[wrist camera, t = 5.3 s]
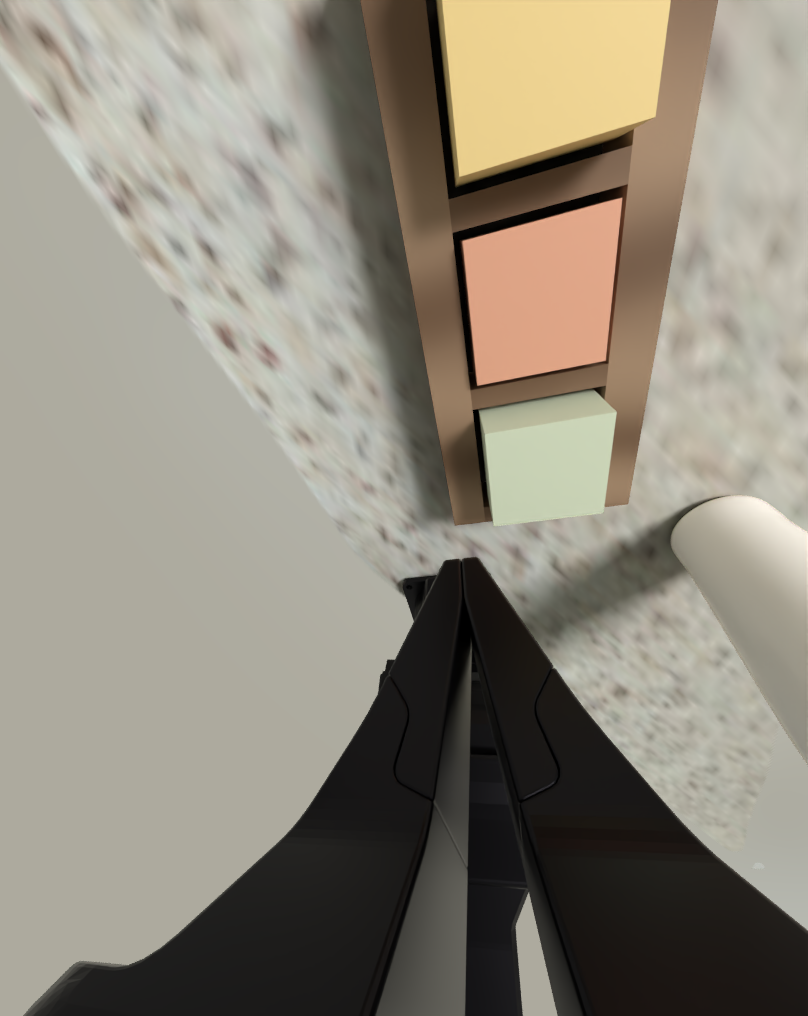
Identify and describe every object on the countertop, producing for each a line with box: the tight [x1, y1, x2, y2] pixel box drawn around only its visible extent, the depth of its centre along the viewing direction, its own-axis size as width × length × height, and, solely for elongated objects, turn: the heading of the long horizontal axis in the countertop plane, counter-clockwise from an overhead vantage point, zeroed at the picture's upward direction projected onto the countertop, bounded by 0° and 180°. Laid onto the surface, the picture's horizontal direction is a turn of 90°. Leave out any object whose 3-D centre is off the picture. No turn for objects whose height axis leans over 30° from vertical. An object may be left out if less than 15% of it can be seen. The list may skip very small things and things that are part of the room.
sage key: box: [478, 388, 617, 526], centre depth 17 cm, size 5×5×3 cm
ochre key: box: [436, 0, 671, 187], centre depth 9 cm, size 5×5×3 cm
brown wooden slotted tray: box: [360, 0, 718, 525], centre depth 15 cm, size 21×9×2 cm, turn 13°
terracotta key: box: [459, 198, 622, 386], centre depth 14 cm, size 5×5×3 cm
